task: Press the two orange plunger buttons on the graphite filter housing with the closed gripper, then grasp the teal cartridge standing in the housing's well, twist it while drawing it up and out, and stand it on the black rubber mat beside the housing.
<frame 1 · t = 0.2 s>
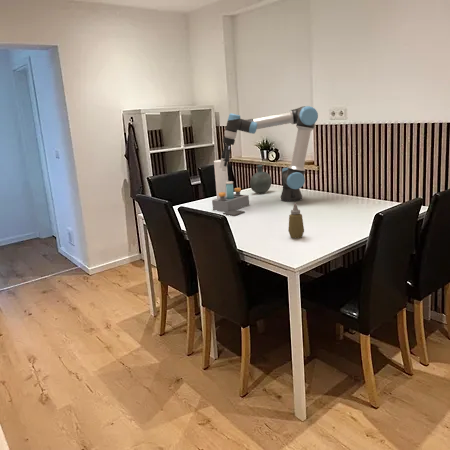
hand: (222, 169, 293), 27 cm above the table, tool tilted 15°, fingers open, 13 cm apart
flask: (261, 193, 343), on the table
plunger 2: (238, 194, 307), point 8 cm above the table, slide at 0.0 cm
squeeze bottle: (296, 237, 227), on the table
cylinder container: (223, 200, 330), on the table
cartridge: (230, 194, 301), in the housing
mat: (233, 213, 287), on the table
housing: (231, 207, 304), on the table
plunger 1: (222, 199, 296), point 7 cm above the table, slide at 0.0 cm
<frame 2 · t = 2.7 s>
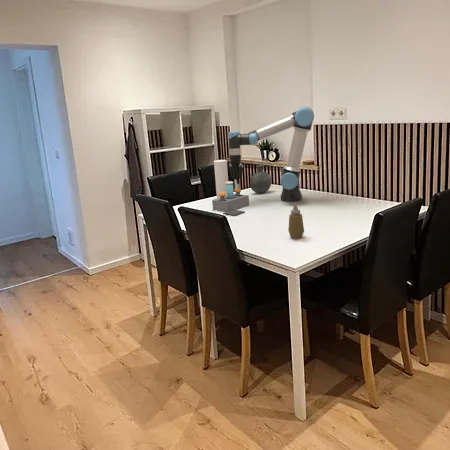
hand: (237, 188, 306), 12 cm above the table, tool pointing down, fingers closed
plunger 2: (238, 195, 307), point 7 cm above the table, slide at 0.3 cm, touching gripper
everything else where it was.
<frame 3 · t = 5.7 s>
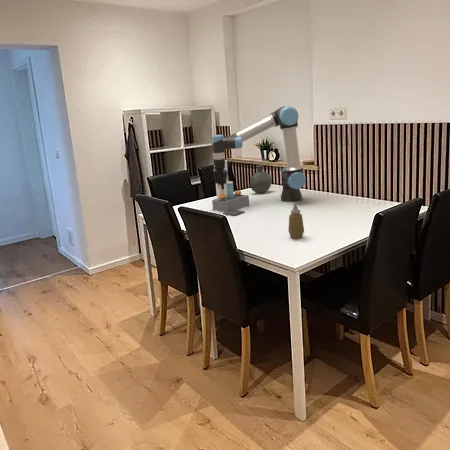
hand: (221, 194, 295), 11 cm above the table, tool pointing down, fingers closed
plunger 2: (238, 197, 308), point 5 cm above the table, slide at 2.1 cm
plunger 1: (222, 201, 296), point 6 cm above the table, slide at 1.1 cm, touching gripper
everything else where it was.
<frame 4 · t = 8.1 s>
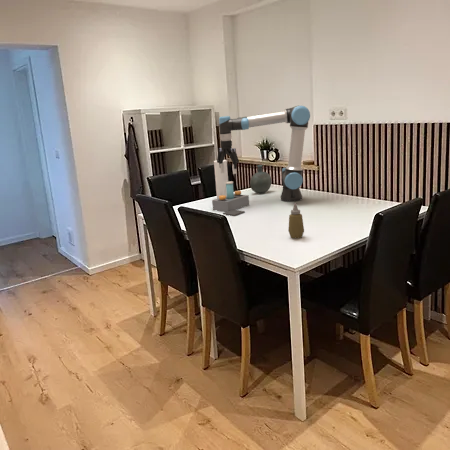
hand: (228, 173, 297), 24 cm above the table, tool pointing down, fingers open, 10 cm apart
plunger 1: (222, 202, 297), point 5 cm above the table, slide at 2.1 cm
everything else where it was.
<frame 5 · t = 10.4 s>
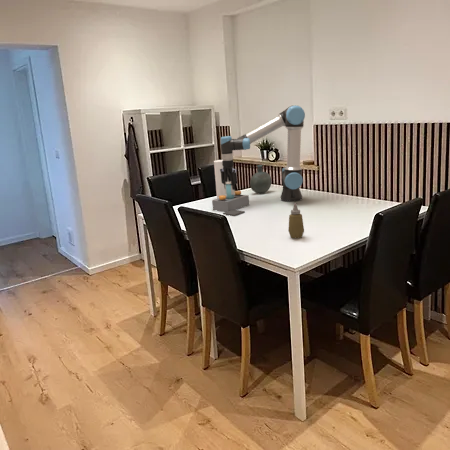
hand: (230, 193, 301), 10 cm above the table, tool pointing down, fingers closed on cartridge, 5 cm apart
cartridge: (230, 194, 301), in the housing, touching gripper
everything else where it was.
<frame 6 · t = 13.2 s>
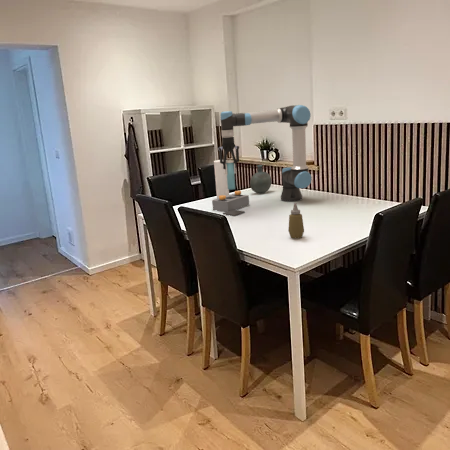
hand: (230, 173, 281), 26 cm above the table, tool pointing down, fingers closed on cartridge, 5 cm apart
cartridge: (230, 174, 281), point 25 cm above the table, touching gripper
everything else where it was.
when the fingers open (11 cm above the table, at t = 16.4 s): cartridge stays where it is, resting on mat.
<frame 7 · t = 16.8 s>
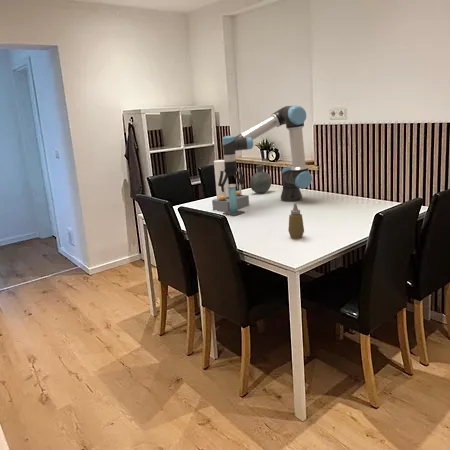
hand: (232, 195, 284), 12 cm above the table, tool pointing down, fingers open, 10 cm apart
cartridge: (232, 198, 284), on the mat, point 10 cm above the table
everything else where it was.
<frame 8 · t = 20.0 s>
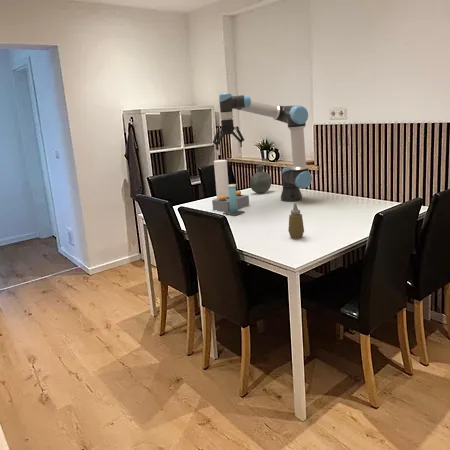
hand: (229, 153, 277), 39 cm above the table, tool pointing down, fingers open, 13 cm apart
nothing on the table moved.
at the end: cartridge inside the target area on the mat (0.0 cm from its centre), point 10.0 cm above the mat's base; cartridge tilted 0°; plunger 1 slide at 2.1 cm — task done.
